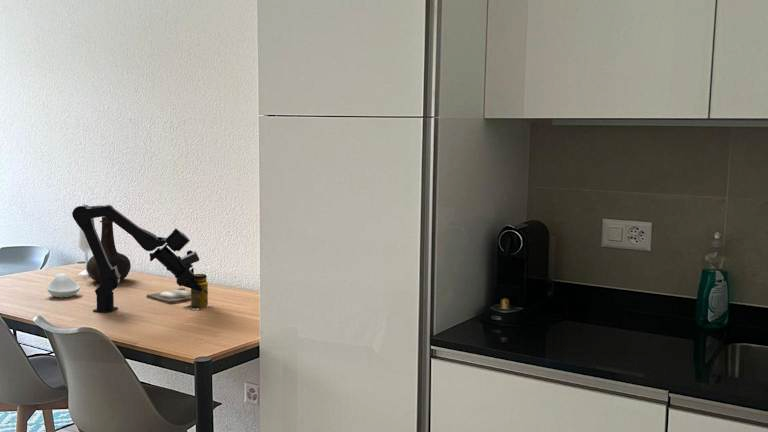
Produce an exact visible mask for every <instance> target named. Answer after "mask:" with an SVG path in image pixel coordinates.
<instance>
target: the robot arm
mask: <svg viewBox="0 0 768 432" xmlns="http://www.w3.org/2000/svg"><path fill="white" fill-rule="evenodd" d="M71 215H72V218H73V219H74V221H75V223H76V224H77V225H78V227H80V228H81V229H82V231H83V232H84V234H85V237H86V239H87V241H88V244H89V246H90V249H91V250H90V251H91V254H92V257H93V256H94V258H95V261H96V263H97V266H98V268H99V276H100V281H101V283H98V285H97V287H96V288H95V290H94V292H95V295H96V308H95V309H93V310H92V312H95V313H111V312H114V311H115V310H118V306H115V303H114V302H115V300H114V299H115V298H114V297H115V296H114V295H115V294H114V291H115V290H116V289H117V287H118V286H119V283H120V282H121V281H120V276H121V275H120V274H119V272H118V269H117V266H115V267H112V265H111V264H110V263H109V261H108V258H107V256H106V253H105V251H104V249H103V246H102V244H101V238H100V237H99V234H98V232H97V229H96V227H95V219H96V218H102V217H104V216H106V217H107V218H109V219H110V220H111V221H113V223H114V224H115V225H117V226H118V227H119V228H120V229H122V230H123V231H125V232H126V233H128V234H129V235H130V236H131V237H132V238H133V239H134V240H135V241H136V242H137V244H138V245H139V246H140V247H141V248H143V250H144V251H146V252H149V253H148V254H149V261H150V262H152V261H154V259H156V260H157V261H158V262H159V263H160V264H161V265H162V266H164V267H165V268H166V270H167V271H168V272H170V273H171V274H173V276H174V277H175V278H176V284H177V285H178V286H179V287H183V288H187V289H190V290H191V289H194V290H196V291H199V292H201V291H202V288H201V287H200V286H199V284H198V283H197V282H196V281H195V279H194V274H195V272H194V271H195V268H194V265H193V264H194V263H197V262H200V257H199V255H198V252H197V251H196V250H195V251H192V250H191V249H189V250H187V251H186V255H184V256H183V257H181V255H177V254H175V252H180V251H181V250H182V249H183V248H184V247H186V245H187V244H188V243H189V242H190V241H191V240H190V238H189V237H188V236H187V235H186V234H185V233H184V232H182V231H181V230H179V229H178V228H177V227H176V228H174V229H173V231H172V232H171V233H170V234H169V235H168V236H167V237H162V236H157V235H156V234H154V233H153V232H151V231H148V230H146V229H145V228H142V227H140V226H138V225H137V224H136V223H134V222H133V221H132V220H131V219H129V218H128V217H126V215H123V213H121V212H120V211H118V210H117V209H116V208H115V207H113V205H111V204H104V205H91V206H90V205H88V204H86V203H85V204H79V205H77V206H76V207H74V209H73V210H72V213H71ZM153 251H154V252H153Z"/></svg>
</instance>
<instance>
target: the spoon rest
mask: <svg viewBox="0 0 768 432" xmlns="http://www.w3.org/2000/svg"><path fill="white" fill-rule="evenodd" d="M80 290H81V286H80V284H78V283H77V282H76V281H74V279H73V278H71V277H70V276H68V274H66V273H65V272H64V273H55V274H54V277H53V279H52V280H51V281H50V282H49V284H48V286H47V292H48V293H49V294H50V296H53V297H55V298H57V297H59V299H60V298H61V299H62V298H63V297H66V298H71V297H73V296H75V295H77V293H78V292H80ZM63 299H64V298H63Z"/></svg>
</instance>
